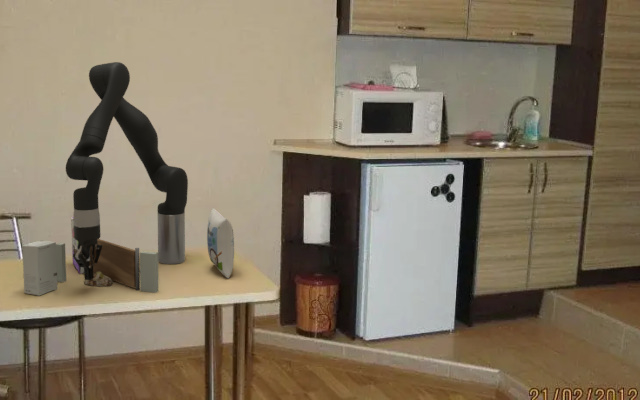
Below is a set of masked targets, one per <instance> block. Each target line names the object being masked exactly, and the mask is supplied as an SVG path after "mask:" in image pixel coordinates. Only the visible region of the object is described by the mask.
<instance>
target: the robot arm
mask: <svg viewBox="0 0 640 400" xmlns="http://www.w3.org/2000/svg"><path fill="white" fill-rule="evenodd" d="M130 75H131V74H130V71H129V69H128V67H127V66H126V64H124V63H123V62H119V61H116V62H115V61H113V62H107V63H102V64H101V63H100V64H97V65H94V66H92V67H91V68H90V70H89V73H88V77H89V78H88V79H89V83H90V85H91V87H92V89H93V90H94V92H95V94H96V95H97V96H98V98H99V99H100V102H99V103H98V105H97V106H96V107H95V109H94V110H93V111H92V113H91V114H90V115H89V116H88V118H87V119H86V121H85V124H84V125H83V129H82V133H81V136H80V139H79V142H78V143H77V144H76V146H75V147H74V149H73V151H72V152H71V154H70V155H69V156H68V158H67V160H66V164H65V172H66V175H67V177H68V178H69V179H70V180H74V181H87V183H86V186H85V187H78V188H76V189H75V190H74V191H73V193H72V195H73V197H72V199H73V216H72V217H73V221H74V238H75V240H77V241H78V247H77V248H78V251H77V253H76V254H75V253H74V254H73V257H74V259H75V261H76V262H77V264H78V265H79V267H83V268H84V273H83V275H84V279H85V280H91V279H93V278H94V273H93V267H94V266H95V263H97V262H98V259H99V256H100V253H101V250H102V245H98V241H97V239H101V213H100V209H99V191H100V187H101V183H102V179H103V174H104V165H103V164H104V163H103V162H102V160H101V159H100V158H98V157H97V156H92V155H97V154H100V153H102V152H103V150H104V147H105V144H106V141H107V137H108V132H109V129H110V126H111V125H112V121H113V119H115V120H116V122H117V124H118V125H119V127H120V129H121V130H122V132H123V133H124V135H125V137H126V139H127V140H128V142H129V144H130V145H131V146H132V148H133V150H134V151H135V153H136V155H137V156H138V158H139V160H140V162H141V163H142V165H143V166H144V168H145V170H146V173H147V174H148V177H149V179H150V181H151V183H152V185H153V186H154V188H155V189H156V190H157V191H158V192H162V193H165V200H164V202H161V203H159V204H157V253H158V263H159V264H160V263H161V264H163V265H164V264H165V265H175V264H176V265H177V264H182V263H184V262H185V260H186V221H185V220H186V219H185V218H186V217H185V216H186V214H185V213H186V212H185V211H186V206H187V202H188V191H189V189H188V188H189V187H188V186H189V180H188V174H187V172H186V170H185V169H183V168H181V167H177V166H173V165H172V166H171V165H168V164H167V163H166V162H165V160H164V159H163V157H162V155H161V154H160V152H159V138H158V137H159V136H158V133H157V131H156V129H155V127H154V125H153V124H152V122H151V120H150V119H149V117H148V116H147V114H145V113H144V112H142V111H141V110H140V109H139V108H137V107H135V106H134V105H133V104H131V103H130V102H129V101H128V100H126V99H125V98H124V96H125V94H126V92H127V90H128V88H129V85H130V79H131V76H130Z"/></svg>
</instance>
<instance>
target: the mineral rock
mask: <svg viewBox="0 0 640 400" xmlns="http://www.w3.org/2000/svg"><path fill="white" fill-rule="evenodd" d="M113 281H114V280H111V278H109V277H108V276H105V275H103V274H102V273H101V272H96V273H94V278H93V279H91V280H85V278H84V280H83V284H84V285H85V286H90V287H99V288H101V287H102V288H103V287H111V286H112V285H113Z"/></svg>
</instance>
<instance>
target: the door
mask: <svg viewBox="0 0 640 400" xmlns="http://www.w3.org/2000/svg"><path fill="white" fill-rule="evenodd" d="M97 241H98V245H102V250H101V253H100V256H99V259H98V262H97V263H95V266H94V267H93V273H96V272H101V273H102V274H103V275H105V276H108V277H109V278H111V280H112V281H114V282H117V283H120V284H123V285H125V286H128V287H130V288H135V289H136V270H135V249H134V248H130V247H127V246H124V245H120V244H117V243H114V242H109V241H106V240H104V239H101V238H99V239H97Z"/></svg>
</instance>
